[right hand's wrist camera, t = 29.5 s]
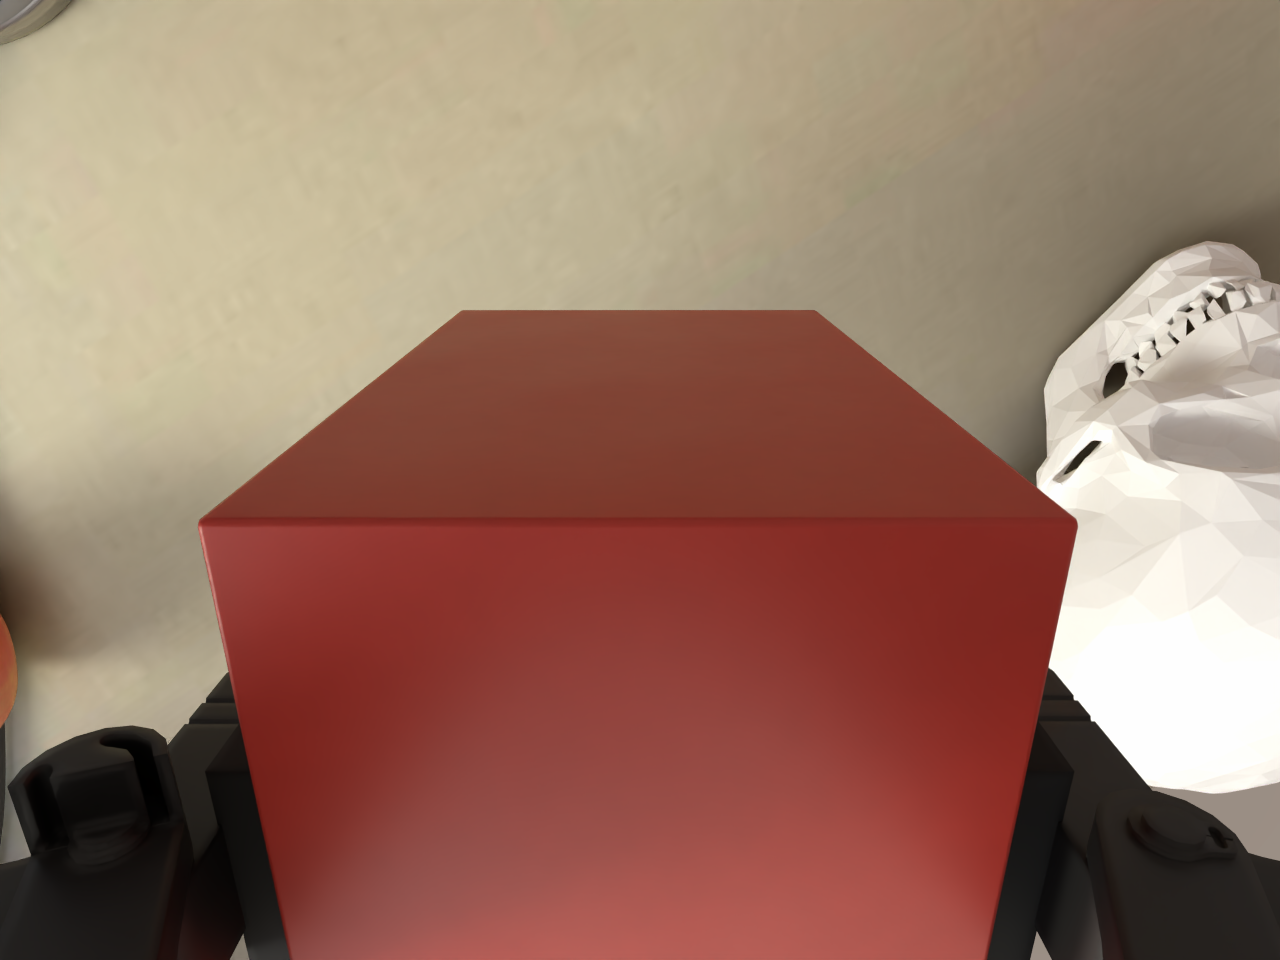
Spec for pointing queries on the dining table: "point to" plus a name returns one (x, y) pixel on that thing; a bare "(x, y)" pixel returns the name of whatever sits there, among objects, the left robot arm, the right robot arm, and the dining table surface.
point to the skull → (1175, 522)
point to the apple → (7, 672)
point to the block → (638, 649)
